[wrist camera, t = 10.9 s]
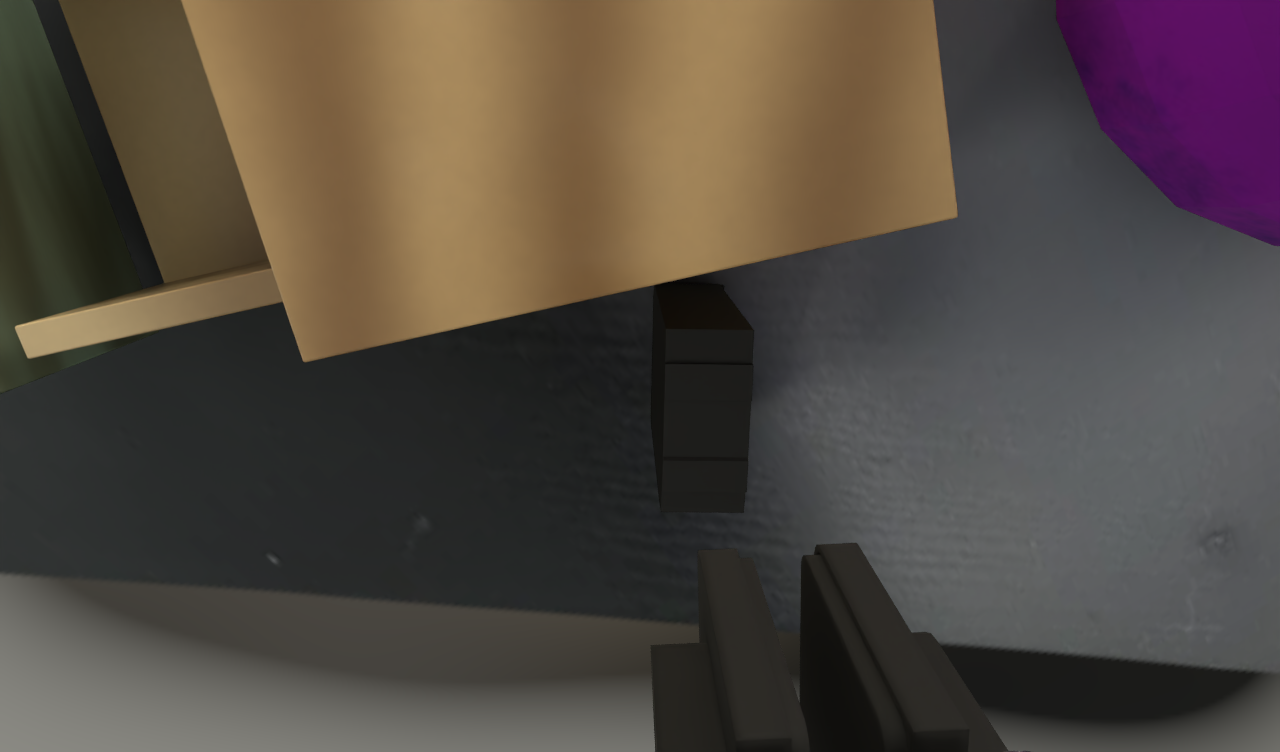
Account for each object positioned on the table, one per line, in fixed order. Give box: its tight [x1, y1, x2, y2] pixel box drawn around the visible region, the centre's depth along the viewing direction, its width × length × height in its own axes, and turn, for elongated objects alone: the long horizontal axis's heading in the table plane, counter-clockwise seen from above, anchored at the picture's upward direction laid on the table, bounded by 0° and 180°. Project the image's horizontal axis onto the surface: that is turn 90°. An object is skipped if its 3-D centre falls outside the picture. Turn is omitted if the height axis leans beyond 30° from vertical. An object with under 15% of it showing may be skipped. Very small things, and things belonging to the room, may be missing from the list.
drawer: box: [0, 0, 283, 394], centre depth 21 cm, size 20×11×8 cm, turn 102°
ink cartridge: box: [651, 283, 754, 513], centre depth 24 cm, size 5×2×8 cm, turn 179°
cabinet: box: [181, 0, 958, 362], centre depth 21 cm, size 15×13×10 cm
